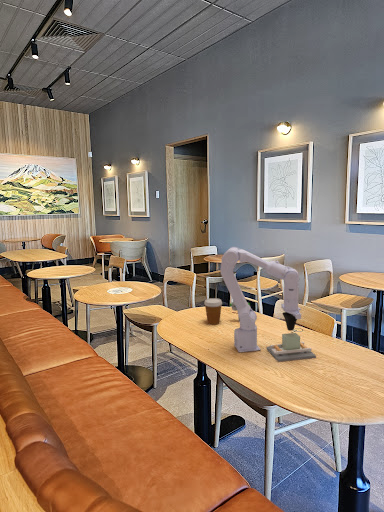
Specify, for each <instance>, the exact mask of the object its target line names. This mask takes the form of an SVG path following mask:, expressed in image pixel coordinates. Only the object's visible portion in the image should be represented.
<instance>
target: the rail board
mask: <svg viewBox="0 0 384 512" xmlns="http://www.w3.org/2000/svg"><path fill="white" fill-rule="evenodd" d="M265 347H266V350H267V352H268V353H270V354H271V356H272V357H273V359H275V360H276V362H277V363H279V362H280V363H281V362H290V361H298V360H299V361H300V360H307V359H316V358H317V356H316V354H315V353H314V352H313V351H312V347H308V346H306V345H305V341H300V349H294V350H284V349H283V348H282V343H279V344H271V345H269V346H265Z"/></svg>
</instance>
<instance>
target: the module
mask: <svg viewBox="0 0 384 512" xmlns="http://www.w3.org/2000/svg"><path fill="white" fill-rule="evenodd" d="M300 342H301V336H300V335H299V334H298V333H297V332H292V333H291V332H290V333H289V332H287V333H282V335H281V344H282V348H283V349H284V350H294V349H300Z"/></svg>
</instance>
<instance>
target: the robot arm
mask: <svg viewBox="0 0 384 512" xmlns="http://www.w3.org/2000/svg"><path fill="white" fill-rule="evenodd" d="M238 262H239V264H243V263H250V264H252V265H254V266H256V267H259V268H261V269H264V270H265V272H266V274H268V275H271V276H272V277H275V278H277V279H279V280H282V281H283V282H284V287H283V303H281V304H280V305H281V307H280V308H281V309H282V310H283V312H282V315H283V318H284V321H285V324H286V325H285V326H286V330H288V331H289V332H290V331H294V330H295V327H296V326H295V325H296V323H297V321H298V320H301V319H302V313H301V312H300V311H301V310H302V309H301V307H299V295H300V294H299V290H300V289H299V288H300V287H299V282H300V276H299V272H298V270H296V269H295V268H294V267H291V266H289V265H287V266H286V265H284V264H282V263H280V261H279V260H275V261H274V260H270V261H267V260H266V259H263V258H261V257H259V256H258V255H255V254H254V253H252V252H249V251H247V250H245V249H243V248H239V247H237V246H231V247H230V248H228V250H226V251H225V252H224V253H223V255H222V257H221V262H220V263H221V264H220V275H221V277H222V280H223V281H224V283H225V286H226V288H227V290H228V292H229V294H230V296H231V299H232V302H234V303H235V305H234V307H236V308H237V310H238V311H237V312H238V313H237V316H239V319H240V321H239V327H237V328H235V329H234V332H233V335H234V336H233V338H234V340H233V342H234V343H233V346H234V348H236V351H238V353H243V352H244V353H245V352H255V351H261V348H260V346H259V345H258V327H257V326H258V325H256V321H257V319H258V315H257V313H256V312H255V310H253V308H251V305H250V306H249V305H248V304H247V300H246V297H245V295H244V293H243V290H242V289H241V287H240V286H241V285H240V284H239V282H238V280H237V277H236V275H235V273H234V269H235V267H236V265H237V263H238Z"/></svg>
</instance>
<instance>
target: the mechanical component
mask: <svg viewBox="0 0 384 512" xmlns="http://www.w3.org/2000/svg"><path fill="white" fill-rule="evenodd" d="M247 304H248V305H249V306H250V307H251V303H250V302H247ZM229 307H231V309H232V311H234V312H236V311H237V314H238V310H237V308H236V306H235V303H234V301H232V302H230V303H229ZM237 316H238V315H237ZM238 322H240V319H239V316H238Z"/></svg>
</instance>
